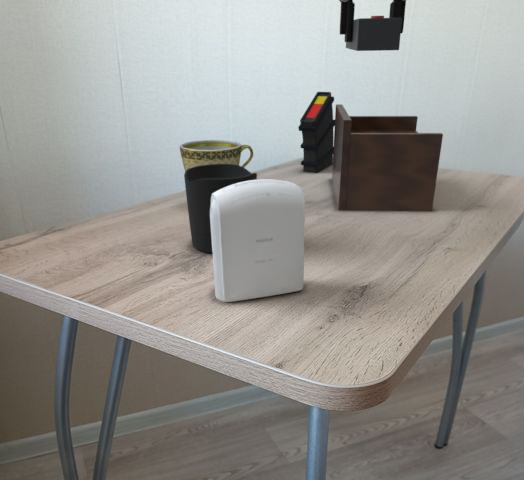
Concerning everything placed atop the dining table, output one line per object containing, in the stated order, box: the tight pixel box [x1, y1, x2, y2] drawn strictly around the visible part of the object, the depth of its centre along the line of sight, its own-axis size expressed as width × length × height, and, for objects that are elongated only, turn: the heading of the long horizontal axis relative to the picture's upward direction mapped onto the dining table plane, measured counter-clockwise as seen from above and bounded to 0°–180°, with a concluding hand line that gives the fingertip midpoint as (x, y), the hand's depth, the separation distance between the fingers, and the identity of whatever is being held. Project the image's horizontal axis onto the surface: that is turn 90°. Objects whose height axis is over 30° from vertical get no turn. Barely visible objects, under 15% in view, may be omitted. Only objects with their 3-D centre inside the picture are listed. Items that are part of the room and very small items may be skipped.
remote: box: [345, 15, 402, 52], centre depth 65 cm, size 4×15×3 cm, turn 177°
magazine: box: [297, 91, 335, 174], centre depth 117 cm, size 4×13×15 cm, turn 155°
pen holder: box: [183, 164, 258, 255], centre depth 74 cm, size 9×9×10 cm
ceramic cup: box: [179, 139, 254, 173], centre depth 92 cm, size 13×10×10 cm
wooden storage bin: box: [331, 103, 444, 212], centre depth 97 cm, size 15×22×14 cm
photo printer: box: [210, 178, 306, 303], centre depth 59 cm, size 10×4×12 cm, turn 109°
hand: (370, 39), depth 65 cm, fingers closed on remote, 4 cm apart
